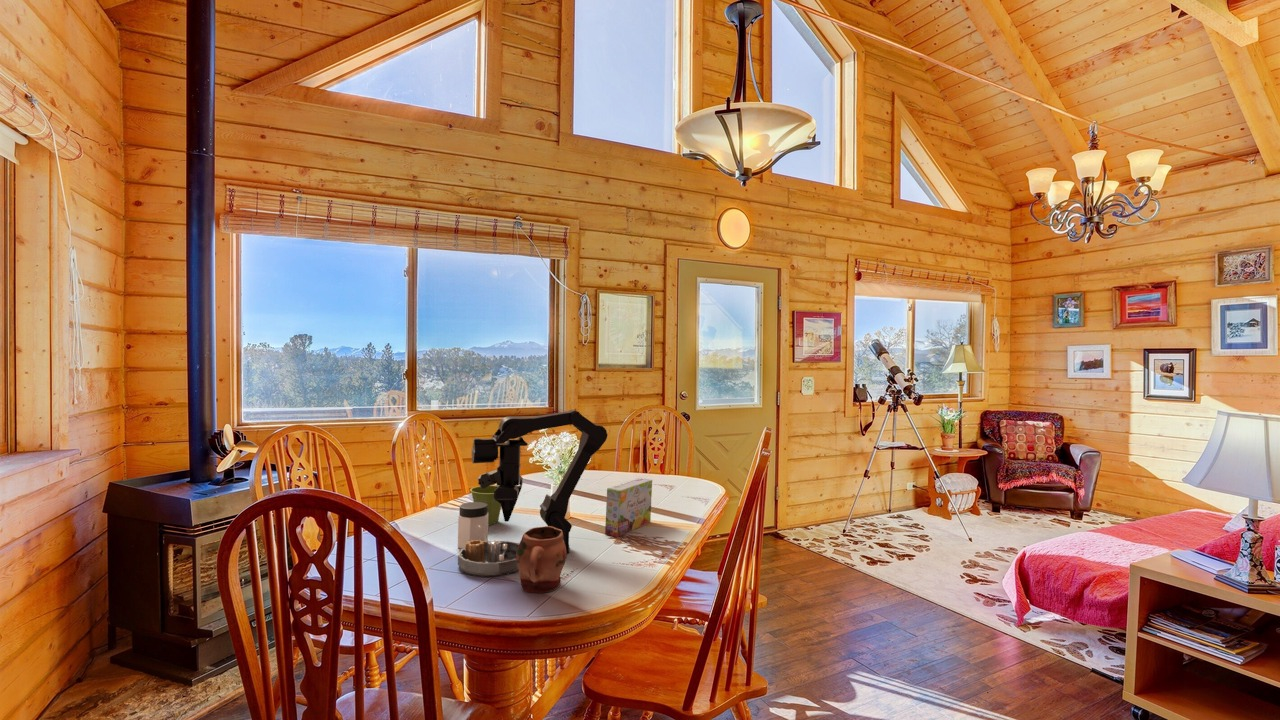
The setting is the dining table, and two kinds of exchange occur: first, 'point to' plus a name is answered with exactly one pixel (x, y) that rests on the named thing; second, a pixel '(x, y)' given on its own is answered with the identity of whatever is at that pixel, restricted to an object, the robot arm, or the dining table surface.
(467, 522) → the jar
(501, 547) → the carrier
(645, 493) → the snack box
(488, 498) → the plant pot
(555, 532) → the terracotta mug
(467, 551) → the bronze pinion
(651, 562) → the dining table surface
